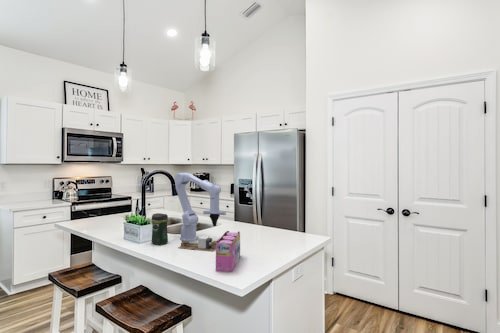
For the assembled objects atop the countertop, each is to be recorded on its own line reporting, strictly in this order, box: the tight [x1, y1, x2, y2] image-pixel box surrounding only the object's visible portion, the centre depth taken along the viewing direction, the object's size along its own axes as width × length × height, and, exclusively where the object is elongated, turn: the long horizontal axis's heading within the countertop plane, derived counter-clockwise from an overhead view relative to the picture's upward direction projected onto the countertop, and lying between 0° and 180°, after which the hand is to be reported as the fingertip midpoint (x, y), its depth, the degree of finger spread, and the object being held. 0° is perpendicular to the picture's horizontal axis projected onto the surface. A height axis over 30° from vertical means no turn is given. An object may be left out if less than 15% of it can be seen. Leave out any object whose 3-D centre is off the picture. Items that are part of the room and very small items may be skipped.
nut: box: [206, 237, 213, 249], centre depth 169 cm, size 2×5×5 cm, turn 166°
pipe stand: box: [177, 240, 218, 252], centre depth 170 cm, size 22×9×4 cm, turn 76°
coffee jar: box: [151, 212, 169, 246], centre depth 179 cm, size 10×8×19 cm
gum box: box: [215, 230, 241, 273], centre depth 145 cm, size 24×8×14 cm, turn 171°
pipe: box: [181, 240, 213, 246], centre depth 170 cm, size 21×2×2 cm, turn 76°
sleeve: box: [197, 235, 210, 249], centre depth 169 cm, size 5×5×6 cm
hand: (214, 225), depth 182 cm, fingers closed
